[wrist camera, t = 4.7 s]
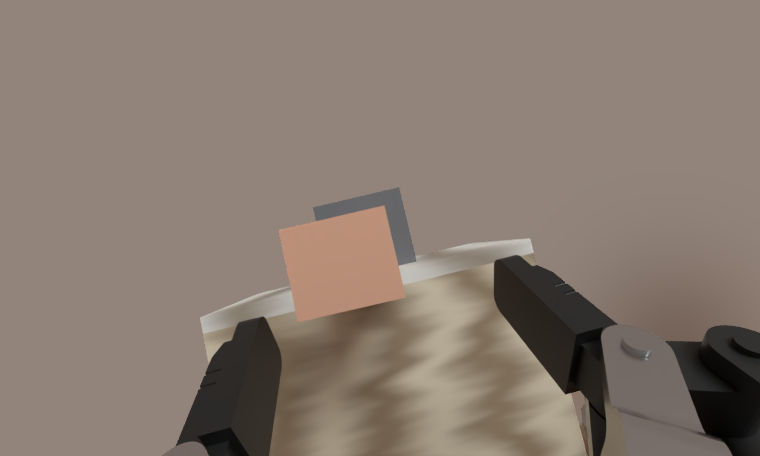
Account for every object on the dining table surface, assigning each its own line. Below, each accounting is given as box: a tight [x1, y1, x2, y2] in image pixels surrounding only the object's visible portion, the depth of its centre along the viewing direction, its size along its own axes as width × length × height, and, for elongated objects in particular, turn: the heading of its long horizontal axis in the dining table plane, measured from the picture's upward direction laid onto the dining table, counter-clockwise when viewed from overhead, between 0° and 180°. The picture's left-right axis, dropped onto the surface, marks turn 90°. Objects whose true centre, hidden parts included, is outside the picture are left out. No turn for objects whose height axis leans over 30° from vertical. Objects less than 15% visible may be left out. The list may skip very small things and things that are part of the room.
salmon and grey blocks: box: [279, 188, 417, 322], centre depth 20 cm, size 20×7×6 cm, turn 179°
